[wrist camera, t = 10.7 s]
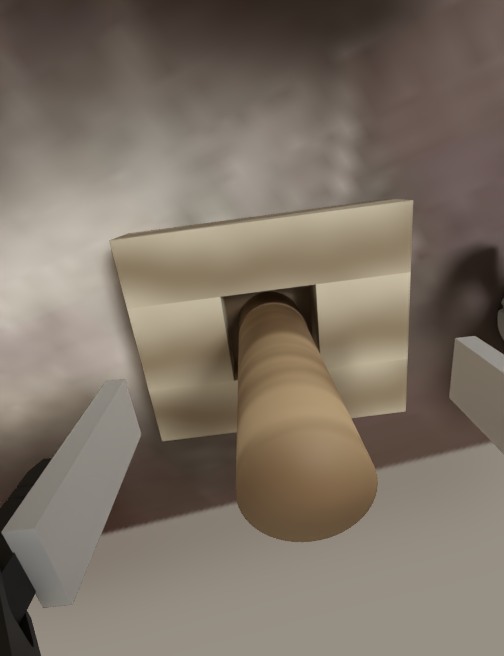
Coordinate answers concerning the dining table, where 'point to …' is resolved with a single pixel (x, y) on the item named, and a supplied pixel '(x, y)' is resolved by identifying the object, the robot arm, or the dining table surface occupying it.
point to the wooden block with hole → (269, 276)
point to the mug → (501, 320)
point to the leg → (294, 431)
